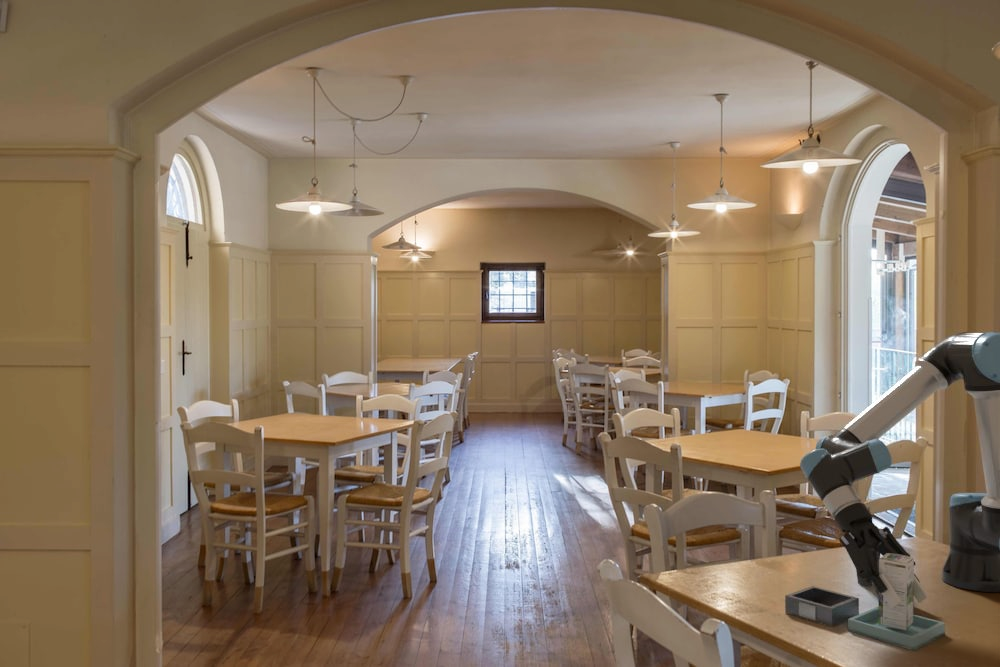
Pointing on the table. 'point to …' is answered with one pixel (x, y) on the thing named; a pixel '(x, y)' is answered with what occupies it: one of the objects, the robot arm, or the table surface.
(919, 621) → the tray
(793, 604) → the square open bin
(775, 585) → the table surface
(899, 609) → the syrup box
